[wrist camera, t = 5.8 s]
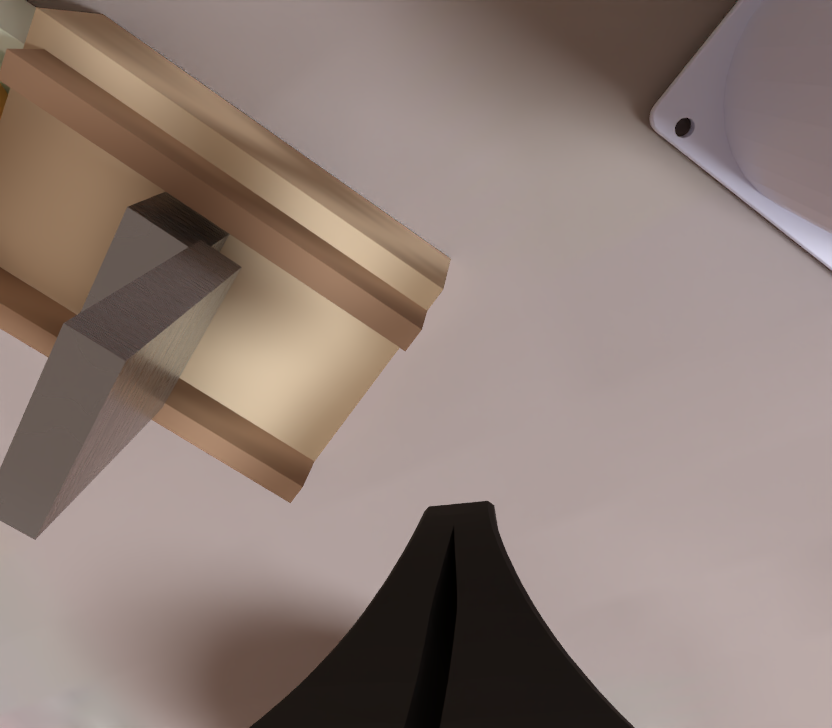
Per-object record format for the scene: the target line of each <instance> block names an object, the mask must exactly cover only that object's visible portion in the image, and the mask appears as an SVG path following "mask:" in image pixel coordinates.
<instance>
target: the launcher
mask: <svg viewBox="0 0 832 728" xmlns="http://www.w3.org/2000/svg"><path fill="white" fill-rule="evenodd" d="M0 81H1V82H2V83H4V84H5V85H7V86H8V87H10V91H9V94H8V97H7V100H6V103H5V106H4V109H3V113H2V116H1V119H0V329H2V330H4V331H5V332H7V333H9V334H10V335H12V336H14V337H15V338H17V339H19V340H20V341H22V342H24V343H25V344H27V345H29V346H30V347H32V348H34V349H35V350H37V351H39V352H40V353H42V354H44V355H45V356H47V357H49V355H50V353H51V351H52V348H53V346H54V344H55V341H56V339H57V337H58V334H59V332H60V330H61V328H62V325H63V323H64V322H66V321H68V320H69V319H71V318H73V317H74V316H76V315H78V314H79V313H80V312H81V310H82V307H83V305H84V303H85V301H86V298H87V296H88V294H89V292H90V289H91V287H92V285H93V283H94V281H95V278H96V276H97V274H98V272H99V269H100V267H101V265H102V263H103V260H104V258H105V256H106V254H107V251H108V249H109V247H110V245H111V242H112V240H113V238H114V236H115V233H116V231H117V229H118V227H119V224H120V222H121V220H122V218H123V215H124V213H125V211H126V209H127V207H128V206H131V205H133V204H136V203H138V202H141V201H143V200H146V199H148V198H151V197H153V196H155V195H158V194H160V193H163V192H165V191H166V192H167V193H169V194H170V195H172V196H173V197H175V198H176V199H178V200H179V201H181V202H182V203H184V204H185V205H187V206H188V207H190V208H191V209H193V210H194V211H196V212H197V213H199V214H200V215H202V216H203V217H205V218H206V219H208V220H209V221H211V222H212V223H214V224H215V225H217V226H218V227H220V228H221V229H223V230H224V231H226V232H227V233H229V236H228V238H227V240H226V242H225V244H224V246H223V247H222V249H221V251H220V253H221V254H223V255H224V256H226V257H227V258H229V259H230V260H232V261H234V262H235V263H237V264H238V265H240V266H241V267H242V268H241V269H240V271H239V273H238V275H237V277H236V278H235V280H234V282H233V284H232V285H231V287H230V289H229V291H228V292H227V294H226V296H225V298H224V300H223V301H222V303H221V305H220V307H219V308H218V310H217V312H216V314H215V315H214V317H213V319H212V321H211V323H210V324H209V326H208V328H207V330H206V331H205V333H204V335H203V337H202V338H201V340H200V342H199V344H198V346H197V347H196V349H195V351H194V353H193V354H192V356H191V358H190V360H189V362H188V363H187V365H186V367H185V369H184V370H183V372H182V374H181V376H180V377H179V379H178V381H177V383H176V385H175V386H174V388H173V390H172V392H171V393H170V395H169V397H168V399H167V400H166V402H165V404H164V406H163V408H162V409H161V410H160V411H159V412H158V413H157V414H156V415H155V416H154V417H153V418H152V420H153V421H155V422H157V423H158V424H160V425H161V426H163V427H165V428H166V429H168V430H170V431H171V432H173V433H175V434H176V435H178V436H180V437H181V438H183V439H185V440H186V441H188V442H190V443H191V444H193V445H195V446H196V447H198V448H200V449H201V450H203V451H205V452H206V453H208V454H210V455H211V456H213V457H215V458H216V459H218V460H220V461H221V462H223V463H225V464H226V465H228V466H230V467H231V468H233V469H235V470H236V471H238V472H240V473H241V474H243V475H245V476H246V477H248V478H250V479H251V480H253V481H254V482H256V483H258V484H259V485H261V486H263V487H264V488H266V489H268V490H269V491H271V492H273V493H274V494H276V495H278V496H279V497H281V498H283V499H284V500H286V501H288V502H289V503H291V502H292V500H293V499H294V498H295V496H296V495H297V494H298V492H299V491H300V490H301V488H302V487H303V485H304V483H305V481H306V478H307V476H308V474H309V472H310V470H311V468H312V465H313V463H314V461H315V460H316V459H317V457H318V456H319V455H320V453H321V452H322V451H323V449H324V448H325V447H326V445H327V444H328V442H329V441H330V440H331V438H332V437H333V436H334V434H335V433H336V432H337V430H338V429H339V428H340V426H341V425H342V424H343V422H344V421H345V420H346V418H347V417H348V416H349V414H350V413H351V412H352V410H353V409H354V408H355V406H356V405H357V404H358V402H359V401H360V400H361V398H362V397H363V396H364V394H365V393H366V392H367V390H368V389H369V388H370V386H371V385H372V384H373V382H374V381H375V380H376V378H377V377H378V376H379V374H380V373H381V372H382V370H383V369H384V368H385V366H386V365H387V364H388V362H389V361H390V360H391V358H392V357H393V356H394V354H395V353H396V352H397V350H398V349H399V348H401V349H403V350H404V351H406V350H407V348H408V347H409V346H410V344H411V343H412V342H413V340H414V339H415V338H416V336H417V335H418V334H419V332H420V331H421V330H422V327H423V323H424V320H425V316H426V313H427V310H428V309H429V308H430V306H431V305H432V304H433V302H434V301H435V300H436V298H437V297H438V296H439V294H440V293H441V292H442V290H443V288H444V284H445V280H446V276H447V272H448V268H449V264H450V260H451V259H450V258H449V257H447V256H446V255H444V254H443V253H441V252H440V251H439V250H437V249H436V248H434V247H433V246H432V245H430V244H429V243H427V242H426V241H424V240H423V239H422V238H420V237H419V236H417V235H416V234H414V233H413V232H412V231H410V230H409V229H407V228H406V227H405V226H403V225H402V224H400V223H399V222H397V221H396V220H395V219H393V218H392V217H390V216H389V215H387V214H386V213H385V212H383V211H382V210H380V209H379V208H378V207H376V206H375V205H373V204H372V203H370V202H369V201H368V200H366V199H365V198H363V197H362V196H360V195H359V194H358V193H356V192H355V191H353V190H352V189H351V188H349V187H348V186H346V185H345V184H343V183H342V182H341V181H339V180H338V179H336V178H335V177H333V176H332V175H331V174H329V173H328V172H326V171H325V170H324V169H322V168H321V167H319V166H318V165H316V164H315V163H314V162H312V161H311V160H309V159H308V158H306V157H305V156H304V155H302V154H301V153H299V152H298V151H297V150H295V149H294V148H292V147H291V146H289V145H288V144H287V143H285V142H284V141H282V140H281V139H279V138H278V137H277V136H275V135H274V134H272V133H271V132H270V131H268V130H267V129H265V128H264V127H262V126H261V125H260V124H258V123H257V122H255V121H254V120H252V119H251V118H250V117H248V116H247V115H245V114H244V113H243V112H241V111H240V110H238V109H237V108H235V107H234V106H233V105H231V104H230V103H228V102H227V101H225V100H224V99H223V98H221V97H220V96H218V95H217V94H216V93H214V92H213V91H211V90H210V89H208V88H207V87H206V86H204V85H203V84H201V83H200V82H198V81H197V80H196V79H194V78H193V77H191V76H190V75H189V74H187V73H186V72H184V71H183V70H181V69H180V68H179V67H177V66H176V65H174V64H173V63H171V62H170V61H169V60H167V59H166V58H164V57H163V56H162V55H160V54H159V53H157V52H156V51H154V50H153V49H152V48H150V47H149V46H147V45H146V44H144V43H143V42H142V41H140V40H139V39H137V38H136V37H134V36H133V35H132V34H130V33H129V32H127V31H126V30H125V29H123V28H122V27H120V26H119V25H117V24H116V23H115V22H113V21H112V20H110V19H109V18H107V17H106V16H105V15H103V14H94V13H85V12H76V11H66V10H57V9H48V8H38V7H36V10H35V13H34V16H33V19H32V22H31V25H30V28H29V32H28V35H27V38H26V41H25V44H24V47H23V49H6V53H5V56H4V59H3V62H2V66H1V69H0Z"/></svg>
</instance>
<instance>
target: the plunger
mask: <svg viewBox="0 0 832 728" xmlns="http://www.w3.org/2000/svg"><path fill="white" fill-rule="evenodd" d="M228 236H229V233H227V232H226V231H224V230H223V229H221V228H220V227H218V226H217V225H215V224H214V223H212V222H211V221H209V220H208V219H206V218H205V217H203V216H202V215H200V214H199V213H197V212H196V211H194V210H193V209H191V208H190V207H188V206H187V205H185V204H184V203H182V202H181V201H179V200H178V199H176V198H175V197H173V196H172V195H170V194H169V193H167V192H166V191H165V192H163V193H160V194H158V195H155V196H153V197H151V198H148V199H146V200H143V201H141V202H138V203H136V204H133V205H131V206H128V207H127V209H126V211H125V213H124V215H123V218H122V220H121V222H120V224H119V227H118V229H117V231H116V233H115V236H114V238H113V240H112V242H111V245H110V247H109V249H108V251H107V254H106V256H105V258H104V260H103V263H102V265H101V267H100V269H99V272H98V274H97V276H96V278H95V281H94V283H93V285H92V287H91V289H90V292H89V294H88V296H87V298H86V301H85V303H84V305H83V307H82V310H81V312H80V313H79V314H78V315H76V316H74V317H73V318H71V319H69V320H68V321H66V322H64V323H63V325H62V328H61V330H60V332H59V334H58V337H57V339H56V341H55V344H54V346H53V348H52V351H51V353H50V355H49V357H48V360H47V362H46V364H45V367H44V369H43V371H42V374H41V376H40V378H39V380H38V383H37V385H36V387H35V390H34V392H33V394H32V397H31V399H30V401H29V403H28V406H27V408H26V410H25V413H24V415H23V417H22V420H21V422H20V424H19V426H18V429H17V431H16V433H15V436H14V438H13V440H12V443H11V445H10V447H9V449H8V452H7V454H6V456H5V459H4V461H3V463H2V466H1V468H0V521H2V522H4V523H6V524H8V525H9V526H11V527H13V528H15V529H17V530H18V531H20V532H22V533H24V534H26V535H27V536H29V537H31V538H33V539H36V538H37V537H38V536H39V535H40V534H41V533H42V532H43V531H44V530H45V529H46V528H47V527H48V526H49V525H50V524H51V523H52V522H53V521H54V520H55V519H56V518H57V517H58V516H59V514H60V513H61V512H62V511H63V510H64V509H65V508H66V507H67V506H68V505H69V504H70V503H71V502H72V501H73V500H74V499H75V498H76V497H77V496H78V495H79V494H80V493H81V492H82V491H83V490H84V489H85V488H86V487H87V485H88V484H89V483H90V482H91V481H92V480H93V479H94V478H95V477H96V476H97V475H98V474H99V473H100V472H101V471H102V470H103V469H104V468H105V467H106V466H107V465H108V464H109V463H110V462H111V461H112V460H113V459H114V457H115V456H116V455H117V454H118V453H119V452H120V451H121V450H122V449H123V448H124V447H125V446H126V445H127V444H128V443H129V442H130V441H131V440H132V439H133V438H134V437H135V436H136V435H137V434H138V433H139V432H140V431H141V429H142V428H143V427H144V426H145V425H146V424H147V423H148V422H149V421H150V420H151V419H152V418H153V417H154V416H155V415H156V414H157V413H158V412H159V411H160V410H161V409H162V408H163V406H164V404H165V402H166V400H167V399H168V397H169V395H170V393H171V392H172V390H173V388H174V386H175V385H176V383H177V381H178V379H179V377H180V376H181V374H182V372H183V370H184V369H185V367H186V365H187V363H188V362H189V360H190V358H191V356H192V354H193V353H194V351H195V349H196V347H197V346H198V344H199V342H200V340H201V338H202V337H203V335H204V333H205V331H206V330H207V328H208V326H209V324H210V323H211V321H212V319H213V317H214V315H215V314H216V312H217V310H218V308H219V307H220V305H221V303H222V301H223V300H224V298H225V296H226V294H227V292H228V291H229V289H230V287H231V285H232V284H233V282H234V280H235V278H236V277H237V275H238V273H239V271H240V269H241V268H242V267H241V266H240V265H238V264H237V263H235V262H234V261H232V260H230V259H229V258H227V257H226V256H224V255H223V254H221V253H220V251H221V249H222V247H223V246H224V244H225V242H226V240H227V238H228Z"/></svg>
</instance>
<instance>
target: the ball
mask: <svg viewBox="0 0 832 728" xmlns="http://www.w3.org/2000/svg"><path fill="white" fill-rule="evenodd" d="M7 97H8V94H7V92H6V90H5V89H4V88H3V86H2V85H1V84H0V119H1V116H2V113H3V109H4V106H5V103H6V100H7Z"/></svg>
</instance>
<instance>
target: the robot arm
mask: <svg viewBox="0 0 832 728" xmlns="http://www.w3.org/2000/svg"><path fill="white" fill-rule="evenodd" d="M682 118H688V119H689V120H690V122H691V128H690V130H689V132H688V133H687V134H685V135H684V136H677V135H676V133H675V126H676V124H677V122H678V121H679V120H680V119H682ZM649 120H650V124H651V127H652V128H653V129H654V130H655V132H657V133H658V134H659V135H660V136H662V137H663V138H664V139H666V140H667V141H668V142H669V143H671V144H672V145H673V146H674V147H676V148H677V149H678V150H679V151H681V152H682V153H683V154H685V155H686V156H687V157H688V158H690V159H691V160H692V161H693V162H695V163H696V164H697V165H698V166H700V167H701V168H702V169H704V170H705V171H706V172H707V173H709V174H710V175H711V176H712V177H714V178H715V179H716V180H717V181H719V182H720V183H721V184H723V185H724V186H725V187H726V188H728V189H729V190H730V191H731V192H733V193H734V194H735V195H736V196H738V197H739V198H740V199H742V200H743V201H744V202H745V203H747V204H748V205H749V206H750V207H752V208H753V209H754V210H755V211H757V212H758V213H759V214H761V215H762V216H763V217H764V218H766V219H767V220H768V221H769V222H771V223H772V224H773V225H774V226H776V227H777V228H778V229H780V230H781V231H782V232H783V233H785V234H786V235H787V236H788V237H790V238H791V239H792V240H793V241H795V242H796V243H797V244H799V245H800V246H801V247H802V248H804V249H805V250H806V251H807V252H809V253H810V254H811V255H812V256H814V257H815V258H816V259H817V260H819V261H820V262H821V263H823V264H824V265H825V266H826V267H828V268H829V269H830V270H831V271H832V0H738V1H737V2H736V4H735V5H734V6H733V7H732V9H731V10H730V11H729V12H728V14H727V15H726V16H725V17H724V19H723V20H722V21H721V22H720V24H719V25H718V26H717V27H716V29H715V30H714V31H713V32H712V34H711V35H710V36H709V37H708V39H707V40H706V41H705V42H704V44H703V45H702V46H701V47H700V49H699V50H698V51H697V52H696V54H695V55H694V56H693V57H692V59H691V60H690V61H689V62H688V64H687V65H686V66H685V67H684V68H683V70H682V71H681V72H680V73H679V75H678V76H677V77H676V78H675V80H674V81H673V82H672V83H671V85H670V86H669V87H668V88H667V90H666V91H665V92H664V93H663V95H662V96H661V97H660V98H659V100H658V101H657V102H656V103H655V105H654V106H653V108H652V110H651V112H650V118H649ZM250 728H634V727H633V726H632V725H631V724H630V723H629V722H628V721H627V720H626V719H625V718H624V717H623V716H622V715H621V714H620V713H619V712H618V711H617V710H616V709H615V708H614V706H613V705H612V704H611V703H610V702H609V701H608V700H607V699H606V698H605V697H604V696H603V695H602V694H601V693H600V692H599V691H598V689H597V688H596V687H595V686H594V685H593V683H592V682H591V681H590V680H589V679H588V678H587V676H586V675H585V674H584V673H583V672H582V670H581V669H580V668H579V667H578V666H577V664H576V663H575V662H574V661H573V660H572V659H571V657H570V656H569V655H568V653H567V652H566V651H565V649H564V648H563V647H562V645H561V644H560V643H559V641H558V640H557V639H556V637H555V636H554V635H553V633H552V632H551V630H550V629H549V627H548V626H547V624H546V623H545V621H544V620H543V618H542V617H541V615H540V614H539V612H538V611H537V609H536V607H535V606H534V604H533V602H532V601H531V599H530V597H529V595H528V594H527V592H526V590H525V588H524V587H523V585H522V583H521V581H520V579H519V577H518V575H517V574H516V571H515V569H514V567H513V565H512V563H511V561H510V559H509V557H508V554H507V552H506V550H505V547H504V545H503V542H502V540H501V537H500V534H499V531H498V526H497V520H496V514H495V508H494V505H493V504H491V503H490V502H489V501H482V502H472V503H461V504H451V505H441V506H430V507H428V508H427V509H426V511H425V512H424V514H423V516H422V518H421V520H420V522H419V524H418V526H417V528H416V530H415V532H414V533H413V535H412V537H411V539H410V541H409V543H408V544H407V546H406V548H405V550H404V552H403V553H402V555H401V557H400V558H399V560H398V562H397V563H396V565H395V566H394V568H393V570H392V571H391V573H390V575H389V576H388V578H387V579H386V581H385V582H384V584H383V585H382V587H381V588H380V590H379V591H378V593H377V594H376V595H375V597H374V598H373V600H372V601H371V603H370V604H369V606H368V607H367V608H366V610H365V611H364V613H363V614H362V615H361V616H360V618H359V619H358V620H357V622H356V623H355V624H354V625H353V627H352V628H351V629H350V630H349V632H348V633H347V634H346V635H345V636H344V638H343V639H342V640H341V641H340V642H339V644H338V645H337V646H336V647H335V648H334V649H333V650H332V651H331V653H330V654H329V655H328V656H327V657H326V658H325V659H324V660H323V661H322V662H321V663H320V664H319V665H318V666H317V668H316V669H315V670H314V671H313V672H312V673H311V674H310V675H309V676H308V677H307V678H306V679H305V680H304V681H303V682H302V683H301V684H300V685H299V686H297V687H296V688H295V689H294V690H293V691H292V692H291V693H290V694H289V695H288V696H286V697H285V698H284V699H283V700H282V701H281V702H280V703H279V704H277V705H276V706H275V707H274V708H273V709H271V710H270V711H269V712H268V713H267V714H266V715H264V716H263V717H262V718H261V719H260V720H258V721H257V722H256V723H255V724H253V725H252V726H251V727H250Z"/></svg>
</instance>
